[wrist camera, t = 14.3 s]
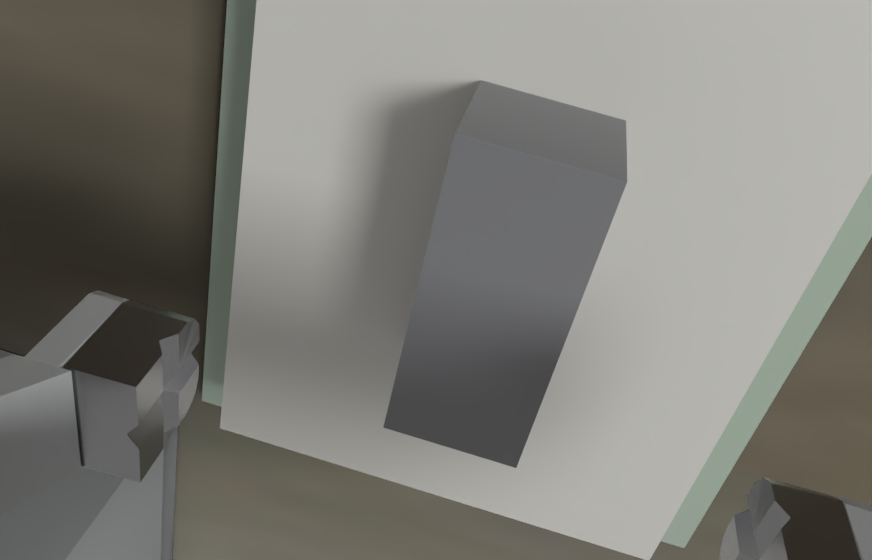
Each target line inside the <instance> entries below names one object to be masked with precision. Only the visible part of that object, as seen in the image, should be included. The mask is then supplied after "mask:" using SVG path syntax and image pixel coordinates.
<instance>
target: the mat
mask: <svg viewBox="0 0 872 560" xmlns="http://www.w3.org/2000/svg"><path fill="white" fill-rule="evenodd" d="M256 1H257V0H227V11H226V26H225V42H224V58H223V74H222V89H221V105H220V121H219V137H218V152H217V168H216V184H215V199H214V215H213V231H212V247H211V262H210V278H209V294H208V309H207V325H206V341H205V357H204V372H203V388H202V401H204V402H208V403H211V404H214V405H217V406H221V407H222V398H223V386H224V375H225V363H226V351H227V340H228V328H229V316H230V305H231V293H232V281H233V270H234V258H235V246H236V235H237V223H238V211H239V200H240V188H241V176H242V165H243V153H244V141H245V130H246V118H247V106H248V95H249V83H250V71H251V60H252V48H253V36H254V25H255V13H256ZM871 237H872V174H871V176H870V178H869V179H868V181H867V183H866V185H865V186H864V188H863V190H862V191H861V193H860V195H859V197H858V198H857V200H856V202H855V204H854V205H853V207H852V209H851V211H850V212H849V214H848V216H847V218H846V219H845V221H844V223H843V225H842V226H841V228H840V230H839V231H838V233H837V235H836V237H835V238H834V240H833V242H832V244H831V245H830V247H829V249H828V251H827V252H826V254H825V256H824V258H823V259H822V261H821V263H820V265H819V266H818V268H817V270H816V271H815V273H814V275H813V277H812V278H811V280H810V282H809V284H808V285H807V287H806V289H805V291H804V292H803V294H802V296H801V298H800V299H799V301H798V303H797V304H796V306H795V308H794V310H793V311H792V313H791V315H790V317H789V318H788V320H787V322H786V324H785V325H784V327H783V329H782V331H781V332H780V334H779V336H778V338H777V339H776V341H775V343H774V344H773V346H772V348H771V350H770V351H769V353H768V355H767V357H766V358H765V360H764V362H763V364H762V365H761V367H760V369H759V371H758V372H757V374H756V376H755V378H754V379H753V381H752V383H751V384H750V386H749V388H748V390H747V391H746V393H745V395H744V397H743V398H742V400H741V402H740V404H739V405H738V407H737V409H736V411H735V412H734V414H733V416H732V418H731V419H730V421H729V423H728V424H727V426H726V428H725V430H724V431H723V433H722V435H721V437H720V438H719V440H718V442H717V444H716V445H715V447H714V449H713V451H712V452H711V454H710V456H709V457H708V459H707V461H706V463H705V464H704V466H703V468H702V470H701V471H700V473H699V475H698V477H697V478H696V480H695V482H694V484H693V485H692V487H691V489H690V491H689V492H688V494H687V496H686V497H685V499H684V501H683V503H682V504H681V506H680V508H679V510H678V511H677V513H676V515H675V517H674V518H673V520H672V522H671V524H670V525H669V527H668V529H667V531H666V532H665V534H664V536H663V537H662V539H661V541H662V542H665V543H669V544H672V545H675V546H678V547H682V548H685V546H686V544H687V543H688V541H689V539H690V538H691V536H692V534H693V533H694V531H695V529H696V528H697V526H698V524H699V523H700V521H701V519H702V518H703V516H704V514H705V513H706V511H707V509H708V508H709V506H710V504H711V503H712V501H713V499H714V498H715V496H716V494H717V493H718V491H719V490H720V488H721V486H722V485H723V483H724V481H725V480H726V478H727V476H728V475H729V473H730V471H731V470H732V468H733V466H734V465H735V463H736V461H737V460H738V458H739V456H740V455H741V453H742V451H743V450H744V448H745V446H746V445H747V443H748V441H749V440H750V438H751V436H752V435H753V433H754V431H755V430H756V428H757V426H758V425H759V423H760V421H761V420H762V418H763V416H764V415H765V413H766V411H767V410H768V408H769V406H770V405H771V403H772V401H773V400H774V398H775V396H776V395H777V393H778V391H779V390H780V388H781V386H782V385H783V383H784V382H785V380H786V378H787V377H788V375H789V373H790V372H791V370H792V368H793V367H794V365H795V363H796V362H797V360H798V358H799V357H800V355H801V353H802V352H803V350H804V348H805V347H806V345H807V343H808V342H809V340H810V338H811V337H812V335H813V333H814V332H815V330H816V328H817V327H818V325H819V323H820V322H821V320H822V318H823V317H824V315H825V313H826V312H827V310H828V308H829V307H830V305H831V303H832V302H833V300H834V298H835V297H836V295H837V293H838V292H839V290H840V288H841V287H842V285H843V283H844V282H845V280H846V278H847V277H848V275H849V274H850V272H851V270H852V269H853V267H854V265H855V264H856V262H857V260H858V259H859V257H860V255H861V254H862V252H863V250H864V249H865V247H866V245H867V244H868V242H869V240H870V239H871Z"/></svg>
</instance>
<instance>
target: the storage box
mask: <svg viewBox="0 0 872 560" xmlns="http://www.w3.org/2000/svg"><path fill="white" fill-rule="evenodd" d="M10 355H13V353H10V352H6V351H3V350H0V359H1V358H4V357H7V356H10ZM14 355H16V354H14ZM18 356H19V355H18ZM22 357H23V356H22ZM177 437H178V426H177V427H175V428H173V429H171V430H169V431H166V432H164V448H163V450H162V451H161V453H160V454H159V456H158V457H157V459H156V460H155V462H154V463H153V465H152V466H151V468H150V469H149V471H148V472H147V474H146V475H145V476H144V478H143V479H142V481H141V482H136V481H132V480H129V479H125V478H121V477H117V476H113V475H109V474H106V473H102V472H98V471H94V470H90V469H87V468H83V467H81V468H82V470H81V471H80V472H78V473H77V474H75V475H73V476H71V477H70V478H68V479H66V480H64V481H63V482H61V483H59V484H57V485H56V486H54V487H52V488H50V489H49V490H47V491H45V492H44V493H42V494H40V495H38V496H37V497H35V498H33V499H31V500H30V501H28V502H26V503H24V504H23V505H21V506H19V507H17V508H16V509H14V510H12V511H10V512H9V513H7V514H5V515H3V516H2V517H0V560H172V556H173V532H174V508H175V485H176V461H177Z"/></svg>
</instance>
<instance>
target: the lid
mask: <svg viewBox="0 0 872 560" xmlns="http://www.w3.org/2000/svg"><path fill="white" fill-rule="evenodd" d="M871 174H872V0H257V1H256V13H255V25H254V36H253V48H252V60H251V71H250V83H249V95H248V106H247V118H246V130H245V141H244V153H243V165H242V176H241V188H240V200H239V211H238V223H237V235H236V246H235V258H234V270H233V281H232V293H231V305H230V316H229V328H228V340H227V351H226V363H225V375H224V386H223V398H222V410H221V421H220V428H221V429H224V430H227V431H231V432H234V433H237V434H240V435H243V436H247V437H250V438H253V439H256V440H260V441H263V442H266V443H269V444H273V445H276V446H279V447H282V448H286V449H289V450H292V451H295V452H299V453H302V454H305V455H308V456H311V457H315V458H318V459H321V460H324V461H328V462H331V463H334V464H337V465H341V466H344V467H347V468H350V469H354V470H357V471H360V472H363V473H366V474H370V475H373V476H376V477H379V478H383V479H386V480H389V481H392V482H396V483H399V484H402V485H405V486H409V487H412V488H415V489H418V490H421V491H425V492H428V493H431V494H434V495H438V496H441V497H444V498H447V499H451V500H454V501H457V502H460V503H464V504H467V505H470V506H473V507H477V508H480V509H483V510H486V511H489V512H493V513H496V514H499V515H502V516H506V517H509V518H512V519H515V520H519V521H522V522H525V523H528V524H532V525H535V526H538V527H541V528H544V529H548V530H551V531H554V532H557V533H561V534H564V535H567V536H570V537H574V538H577V539H580V540H583V541H587V542H590V543H593V544H596V545H599V546H603V547H606V548H609V549H612V550H616V551H619V552H622V553H625V554H629V555H632V556H635V557H638V558H642V559H645V560H650V558H651V557H652V555H653V553H654V551H655V550H656V548H657V546H658V544H659V543H660V541H661V539H662V537H663V536H664V534H665V532H666V531H667V529H668V527H669V525H670V524H671V522H672V520H673V518H674V517H675V515H676V513H677V511H678V510H679V508H680V506H681V504H682V503H683V501H684V499H685V497H686V496H687V494H688V492H689V491H690V489H691V487H692V485H693V484H694V482H695V480H696V478H697V477H698V475H699V473H700V471H701V470H702V468H703V466H704V464H705V463H706V461H707V459H708V457H709V456H710V454H711V452H712V451H713V449H714V447H715V445H716V444H717V442H718V440H719V438H720V437H721V435H722V433H723V431H724V430H725V428H726V426H727V424H728V423H729V421H730V419H731V418H732V416H733V414H734V412H735V411H736V409H737V407H738V405H739V404H740V402H741V400H742V398H743V397H744V395H745V393H746V391H747V390H748V388H749V386H750V384H751V383H752V381H753V379H754V378H755V376H756V374H757V372H758V371H759V369H760V367H761V365H762V364H763V362H764V360H765V358H766V357H767V355H768V353H769V351H770V350H771V348H772V346H773V344H774V343H775V341H776V339H777V338H778V336H779V334H780V332H781V331H782V329H783V327H784V325H785V324H786V322H787V320H788V318H789V317H790V315H791V313H792V311H793V310H794V308H795V306H796V304H797V303H798V301H799V299H800V298H801V296H802V294H803V292H804V291H805V289H806V287H807V285H808V284H809V282H810V280H811V278H812V277H813V275H814V273H815V271H816V270H817V268H818V266H819V265H820V263H821V261H822V259H823V258H824V256H825V254H826V252H827V251H828V249H829V247H830V245H831V244H832V242H833V240H834V238H835V237H836V235H837V233H838V231H839V230H840V228H841V226H842V225H843V223H844V221H845V219H846V218H847V216H848V214H849V212H850V211H851V209H852V207H853V205H854V204H855V202H856V200H857V198H858V197H859V195H860V193H861V191H862V190H863V188H864V186H865V185H866V183H867V181H868V179H869V178H870V176H871Z"/></svg>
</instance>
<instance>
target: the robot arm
mask: <svg viewBox="0 0 872 560" xmlns="http://www.w3.org/2000/svg"><path fill="white" fill-rule="evenodd" d="M198 343H199V323H198V322H197V321H196V320H195V319H193V318H190V317H187V316H183V315H180V314H177V313H174V312H170V311H167V310H164V309H160V308H157V307H154V306H150V305H147V304H144V303H141V302H137V301H134V300H128V299H125V298H122V297H118V296H115V295H112V294H109V293H105V292H102V291H99V290H98V291H95V292H92V293H89V294H87V295H86V296H85V297H84V298H83V299H82V300H81V301H80V302H79V303H78V304H77V305H76V306H75V307H74V308H73V309H72V310H71V311H70V312H69V313H68V314H67V315H66V316H65V317H64V318H63V319H62V320H61V321H60V322H59V323H58V324H57V325H56V326H55V327H54V328H53V329H52V330H51V331H50V332H49V333H48V334H47V335H45V336H44V337H43V338H42V339H41V340H40V341H39V342H38V343H37V344H36V345H35V346H34V347H33V348H32V349H31V350H30V351H29V352H28V353H27V354H26V355H25V356H24V357H22V356H18V355H14V354H13V355H10V356H7V357H4V358H1V359H0V517H2V516H3V515H5V514H7V513H9V512H10V511H12V510H14V509H16V508H17V507H19V506H21V505H23V504H24V503H26V502H28V501H30V500H31V499H33V498H35V497H37V496H38V495H40V494H42V493H44V492H45V491H47V490H49V489H50V488H52V487H54V486H56V485H57V484H59V483H61V482H63V481H64V480H66V479H68V478H70V477H71V476H73V475H75V474H77V473H78V472H80V471H81V470H82V468H81V467H83V468H87V469H90V470H94V471H98V472H102V473H106V474H109V475H113V476H117V477H121V478H125V479H129V480H132V481H136V482H141V481H142V479H143V478H144V476H145V475H146V474H147V472H148V471H149V469H150V468H151V466H152V465H153V463H154V462H155V460H156V459H157V457H158V456H159V454H160V453H161V451H162V450H163V448H164V432H166V431H169V430H171V429H173V428H175V427H177V426H179V425H180V423H181V421H182V420H183V418H184V417H185V415H186V414H187V412H188V410H189V408H190V405H191V403H192V400H193V398H194V395H195V393H196V388H197V383H198V378H199V364H198V363H197V361H196V360H195V358H194V357H193V355H192V354H191V352H192V351H193V350H194V348H195V347H196V345H197V344H198ZM747 496H748V502H749V508H750V509H749V510H746V511H744V512H742V513H739V514H737V515H734V517H733V518H732V520H731V522H730V524H729V525H728V527H727V529H726V531H725V534H724V537H723V541H722V545H721V549H720V560H872V506H871V505H867V504H863V503H859V502H856V501H852V500H848V499H844V498H840V497H833V496H831V495H827V494H823V493H820V492H816V491H812V490H809V489H805V488H801V487H798V486H794V485H790V484H787V483H783V482H779V481H775V480H772V479H768V478H764V477H763V478H761V479H760V480H758V481H757V482H756V483H755V484H754V485H753V487H752V488H751V490H750V491H749V493H748V494H747Z"/></svg>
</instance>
